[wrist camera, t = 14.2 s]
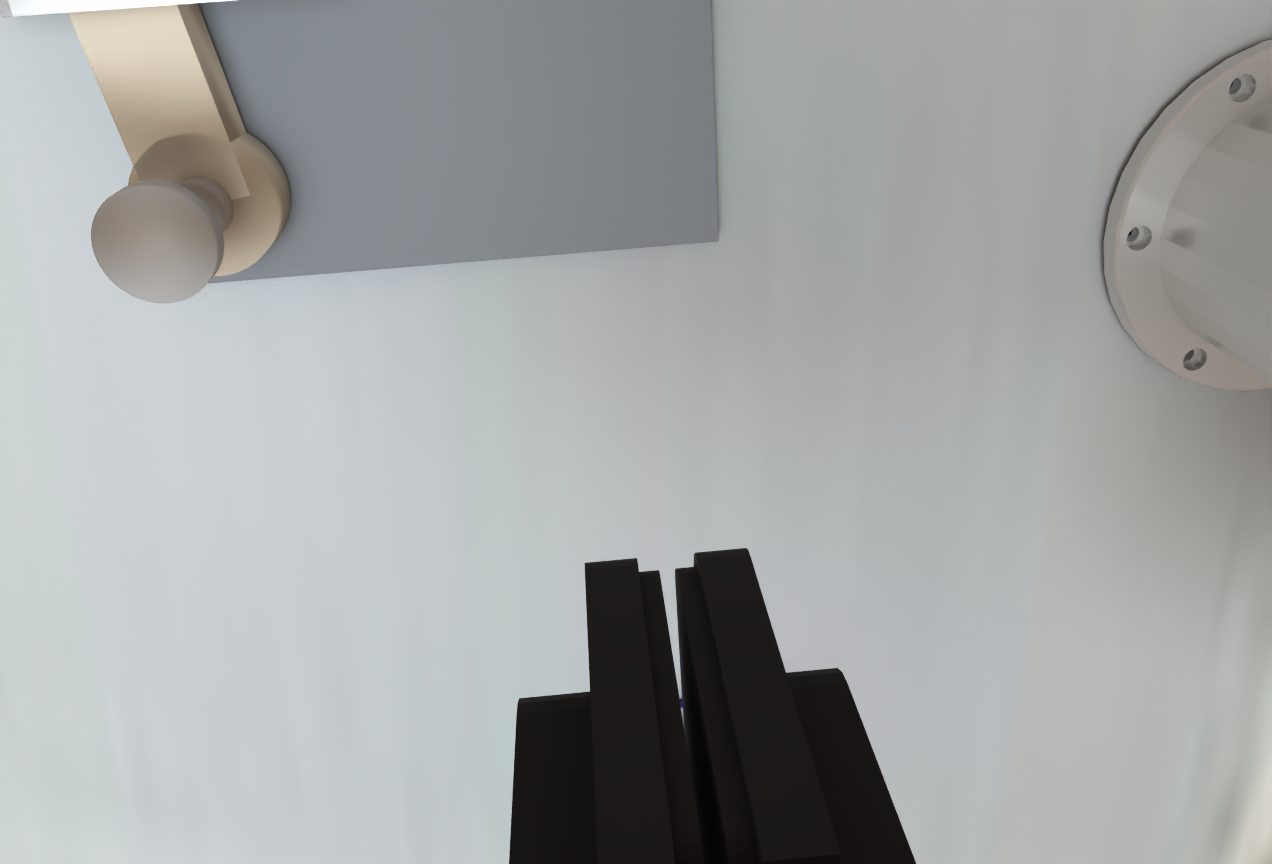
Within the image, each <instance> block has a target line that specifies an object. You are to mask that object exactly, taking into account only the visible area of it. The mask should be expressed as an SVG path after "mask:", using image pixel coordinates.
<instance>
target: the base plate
mask: <svg viewBox="0 0 1272 864" xmlns="http://www.w3.org/2000/svg"><path fill="white" fill-rule="evenodd" d="M197 4H198V6H199V9H200V12H201V14H202V17H203V20H204V22H205V25H206V28H207V30H208V33H209V35H210V38H211V41H212V43H213V46H214V49H215V51H216V54H217V57H218V59H219V62H220V65H221V67H222V70H223V72H224V75H225V78H226V80H227V83H228V86H229V88H230V91H231V94H232V96H233V99H234V102H235V104H236V107H237V109H238V112H239V115H240V117H241V120H242V123H243V125H244V128H245V131H246V132H247V133H249V134H250V135H252V136H253V137H255V138H256V139H258V140H259V141H260V142H261V143H263V144H264V145H265V146H266V147H267V148H268V149H269V150H270V151H271V152H272V154H273V155H274V156H275V158H276V159H277V160H278V162H279V164H280V165H281V167H282V169H283V171H284V173H285V176H286V178H287V182H288V185H289V190H290V202H291V204H290V213H289V217H288V221H287V223H286V226H285V228H284V230H283V231H282V233H281V235H280V236H279V237H278V239H277V240H276V241H275V242H274V243H273V244H272V246H271V247H270V248H269V249H268V250H267V251H266V252H265V254H264V255H263V256H262V257H261V258H260V259H259V260H258V261H257V262H255V263H254V264H253V265H251V266H250V267H248V268H246V269H244V270H242V271H240V272H237V273H234V274H230V275H225V276H214V277H213V278H212V279H211V280H210V281H209V282H208V283H218V282H230V281H242V280H254V279H266V278H278V277H290V276H302V275H314V274H327V273H339V272H351V271H363V270H375V269H387V268H399V267H411V266H423V265H436V264H448V263H460V262H472V261H484V260H496V259H508V258H520V257H533V256H545V255H557V254H569V253H581V252H593V251H605V250H617V249H629V248H642V247H654V246H666V245H678V244H690V243H702V242H714V241H719V238H718V207H717V176H716V145H715V114H714V83H713V52H712V21H711V0H230V1H217V2H203V3H197Z"/></svg>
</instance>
